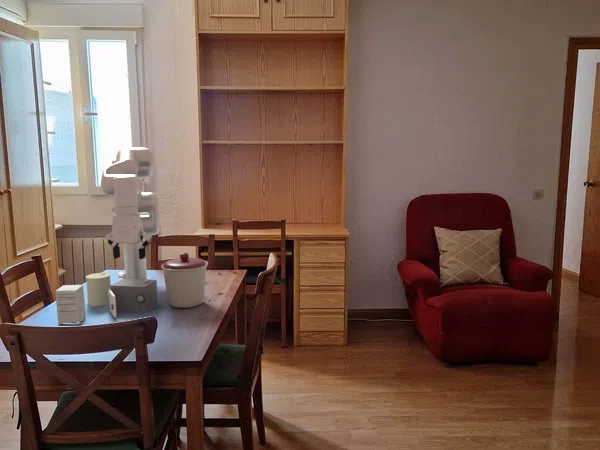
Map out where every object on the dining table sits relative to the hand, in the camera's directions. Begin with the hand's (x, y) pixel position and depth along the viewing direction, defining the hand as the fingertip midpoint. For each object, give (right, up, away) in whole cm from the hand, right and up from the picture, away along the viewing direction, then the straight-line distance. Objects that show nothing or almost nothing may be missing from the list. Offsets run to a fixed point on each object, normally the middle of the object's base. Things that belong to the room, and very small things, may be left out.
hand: (129, 258), depth 172 cm
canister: (+16, -20, +20) cm, 32 cm away
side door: (-9, -21, +8) cm, 25 cm away
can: (-20, -20, +22) cm, 36 cm away
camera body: (-4, -20, +16) cm, 27 cm away
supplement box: (-21, -23, +1) cm, 31 cm away
